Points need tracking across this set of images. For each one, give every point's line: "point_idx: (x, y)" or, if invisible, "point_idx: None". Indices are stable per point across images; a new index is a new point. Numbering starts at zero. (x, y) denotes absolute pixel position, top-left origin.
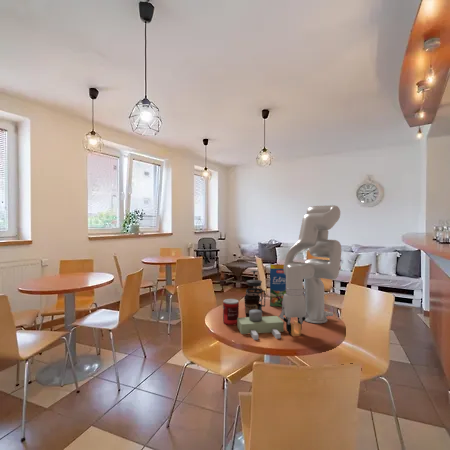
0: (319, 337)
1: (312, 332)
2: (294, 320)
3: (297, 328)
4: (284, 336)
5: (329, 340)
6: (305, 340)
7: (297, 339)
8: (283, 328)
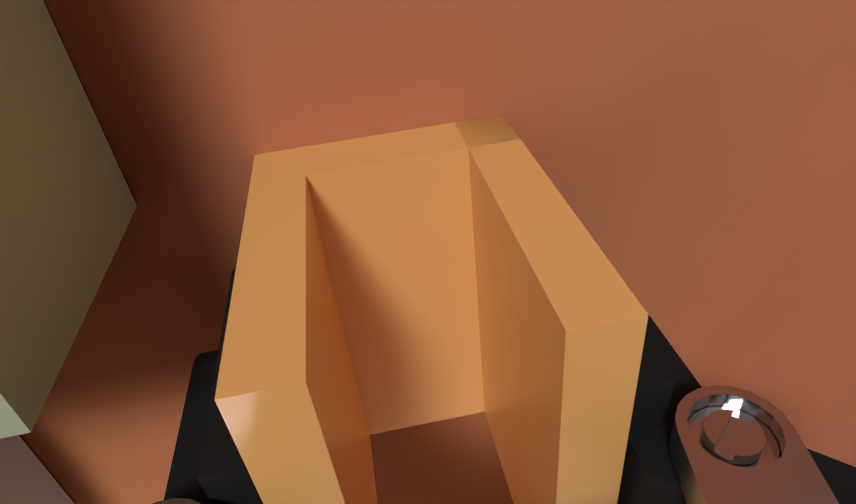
0: (783, 393)
1: (836, 208)
2: (574, 362)
3: (504, 419)
4: (158, 431)
5: (836, 455)
6: (506, 500)
7: (391, 492)
8: (107, 264)
